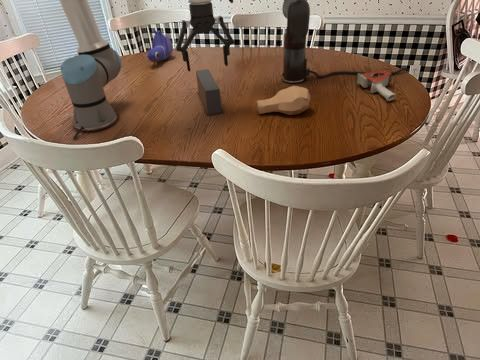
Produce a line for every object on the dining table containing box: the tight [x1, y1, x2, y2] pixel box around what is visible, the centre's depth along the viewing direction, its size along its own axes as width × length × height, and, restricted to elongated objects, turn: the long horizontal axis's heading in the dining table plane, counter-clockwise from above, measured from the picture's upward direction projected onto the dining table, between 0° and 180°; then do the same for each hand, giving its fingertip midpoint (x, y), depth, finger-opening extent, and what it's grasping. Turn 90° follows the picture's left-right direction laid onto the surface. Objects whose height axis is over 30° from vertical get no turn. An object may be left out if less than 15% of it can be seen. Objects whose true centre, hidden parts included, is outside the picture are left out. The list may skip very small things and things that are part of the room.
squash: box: [255, 85, 312, 116], centre depth 130 cm, size 11×20×9 cm, turn 92°
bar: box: [195, 68, 223, 116], centre depth 140 cm, size 23×5×9 cm, turn 14°
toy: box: [146, 29, 174, 67], centre depth 185 cm, size 10×17×25 cm
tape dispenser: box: [356, 69, 397, 102], centre depth 142 cm, size 18×5×20 cm
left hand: (207, 67), depth 128 cm, fingers open, 13 cm apart
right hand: (242, 1), depth 133 cm, fingers open, 8 cm apart
